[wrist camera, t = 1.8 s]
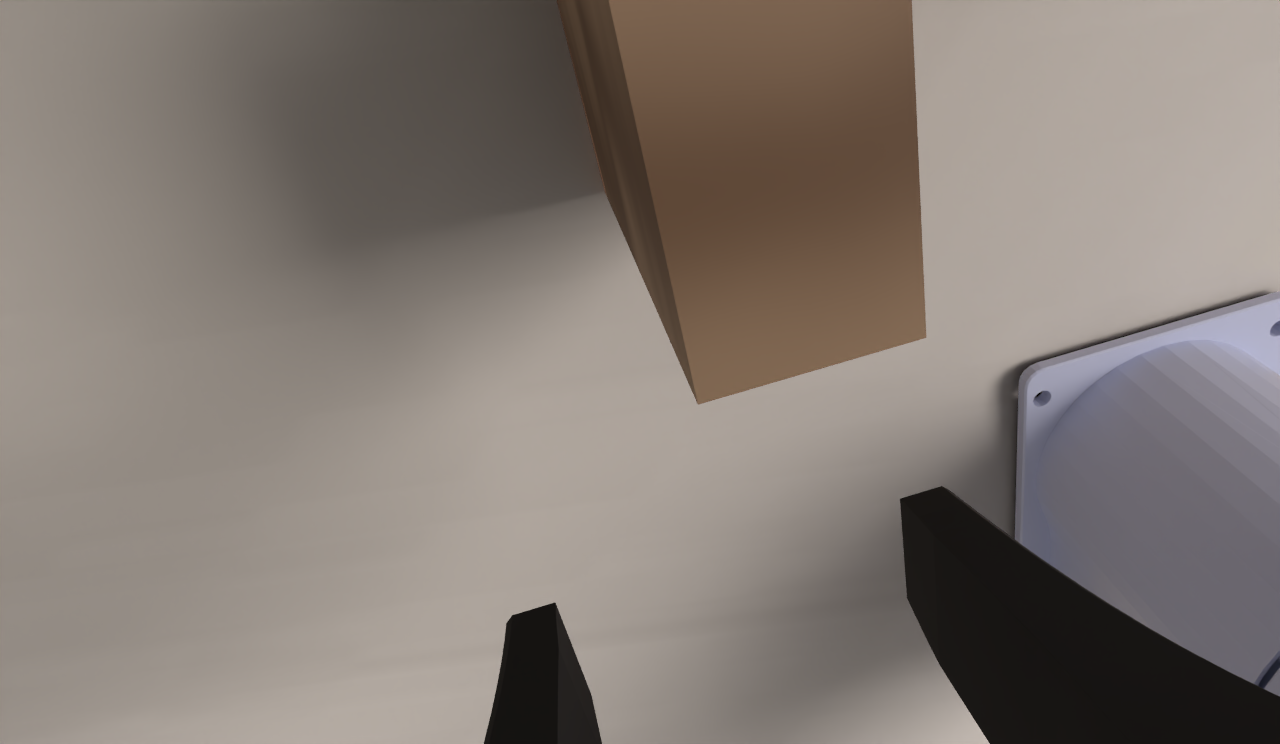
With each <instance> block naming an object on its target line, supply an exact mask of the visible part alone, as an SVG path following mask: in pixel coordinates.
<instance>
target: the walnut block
mask: <svg viewBox="0 0 1280 744" xmlns="http://www.w3.org/2000/svg"><path fill="white" fill-rule="evenodd" d="M557 3H558V7H559V11H560V15H561V19H562V23H563V27H564V31H565V35H566V39H567V43H568V47H569V51H570V55H571V59H572V63H573V67H574V71H575V75H576V79H577V83H578V87H579V91H580V95H581V99H582V103H583V107H584V111H585V115H586V118H587V122H588V126H589V130H590V134H591V138H592V142H593V146H594V150H595V154H596V158H597V162H598V166H599V170H600V174H601V178H602V182H603V186H604V190H605V193H606V195H607V198H608V200H609V202H610V205H611V207H612V209H613V211H614V214H615V216H616V218H617V221H618V223H619V225H620V227H621V230H622V232H623V234H624V237H625V239H626V241H627V243H628V246H629V248H630V250H631V253H632V255H633V257H634V259H635V262H636V264H637V266H638V269H639V271H640V273H641V275H642V278H643V280H644V282H645V285H646V287H647V289H648V291H649V294H650V296H651V298H652V301H653V303H654V305H655V307H656V310H657V312H658V314H659V317H660V319H661V321H662V323H663V326H664V328H665V330H666V333H667V335H668V337H669V339H670V342H671V344H672V346H673V349H674V351H675V353H676V355H677V358H678V360H679V362H680V364H681V367H682V369H683V371H684V374H685V376H686V378H687V380H688V383H689V385H690V387H691V390H692V392H693V394H694V396H695V399H696V401H697V403H698V404H702V403H705V402H708V401H712V400H715V399H719V398H722V397H725V396H729V395H732V394H736V393H739V392H742V391H746V390H749V389H753V388H756V387H760V386H763V385H766V384H770V383H773V382H777V381H780V380H783V379H787V378H790V377H794V376H797V375H800V374H804V373H807V372H811V371H814V370H817V369H821V368H824V367H828V366H831V365H835V364H838V363H841V362H845V361H848V360H852V359H855V358H858V357H862V356H865V355H869V354H872V353H875V352H879V351H882V350H886V349H889V348H892V347H896V346H899V345H903V344H906V343H910V342H913V341H916V340H920V339H923V338H926V322H925V299H924V275H923V252H922V229H921V206H920V183H919V160H918V137H917V114H916V91H915V67H914V44H913V21H912V0H557Z"/></svg>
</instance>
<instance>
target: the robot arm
mask: <svg viewBox="0 0 1280 744" xmlns="http://www.w3.org/2000/svg"><path fill="white" fill-rule="evenodd" d="M1040 392H1042V393H1041V394H1040V395H1039V396H1038V397H1036V398H1034V397H1035V396H1036V395H1037V394H1038V393H1040ZM900 503H901V518H902V532H903V546H904V560H905V574H906V588H907V599H908V601H909V603H910V605H911V607H912V609H913V611H914V613H915V616H916V618H917V620H918V622H919V624H920V626H921V628H922V630H923V632H924V634H925V636H926V638H927V640H928V642H929V644H930V646H931V648H932V650H933V652H934V654H935V656H936V658H937V660H938V662H939V664H940V666H941V667H942V669H943V671H944V672H945V674H946V675H947V677H948V679H949V680H950V682H951V683H952V685H953V687H954V688H955V690H956V691H957V693H958V694H959V696H960V698H961V699H962V701H963V702H964V704H965V705H966V707H967V709H968V710H969V712H970V713H971V715H972V716H973V718H974V720H975V721H976V723H977V724H978V726H979V727H980V729H981V730H982V732H983V734H984V735H985V737H986V738H987V740H988V741H989V743H990V744H1280V292H1274V293H1270V294H1267V295H1264V296H1260V297H1257V298H1253V299H1250V300H1247V301H1243V302H1240V303H1237V304H1233V305H1230V306H1226V307H1223V308H1220V309H1216V310H1213V311H1210V312H1206V313H1203V314H1199V315H1196V316H1193V317H1189V318H1186V319H1183V320H1179V321H1176V322H1172V323H1169V324H1166V325H1162V326H1159V327H1156V328H1152V329H1149V330H1145V331H1142V332H1139V333H1135V334H1132V335H1128V336H1125V337H1122V338H1118V339H1115V340H1112V341H1108V342H1105V343H1101V344H1098V345H1095V346H1091V347H1088V348H1085V349H1081V350H1078V351H1074V352H1071V353H1068V354H1064V355H1061V356H1058V357H1054V358H1051V359H1047V360H1044V361H1041V362H1037V363H1035V364H1033V365H1030V366H1029V367H1028V368H1027V369H1025V370H1024V372H1023V373H1022V375H1021V376H1020V379H1019V393H1018V432H1017V472H1016V512H1015V539H1013V538H1012V537H1011V536H1009V535H1008V534H1007V533H1005V532H1004V531H1002V530H1001V529H1000V528H998V527H997V526H996V525H994V524H993V523H992V522H990V521H989V520H988V519H986V518H985V517H984V516H982V515H981V514H980V513H978V512H977V511H976V510H974V509H973V508H972V507H971V506H969V505H968V504H967V503H965V502H964V501H963V500H961V499H960V498H959V497H958V496H956V495H955V494H954V493H952V492H951V491H950V490H948V489H946V488H944V487H943V486H941V487H938V488H934V489H931V490H928V491H924V492H921V493H918V494H914V495H911V496H908V497H904V498H901V499H900ZM484 744H602V742H601V737H600V732H599V728H598V723H597V719H596V714H595V710H594V705H593V700H592V696H591V693H590V690H589V688H588V685H587V683H586V680H585V678H584V675H583V672H582V670H581V667H580V665H579V662H578V660H577V657H576V654H575V652H574V649H573V647H572V644H571V642H570V639H569V637H568V634H567V631H566V629H565V626H564V624H563V621H562V619H561V616H560V614H559V611H558V608H557V606H556V603H552V604H549V605H545V606H542V607H539V608H535V609H532V610H529V611H525V612H522V613H519V614H515V615H512V616H511V618H510V619H509V621H508V622H507V623H506V633H505V642H504V649H503V656H502V662H501V668H500V673H499V679H498V684H497V689H496V694H495V698H494V703H493V708H492V713H491V717H490V721H489V725H488V729H487V733H486V737H485V741H484Z"/></svg>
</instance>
